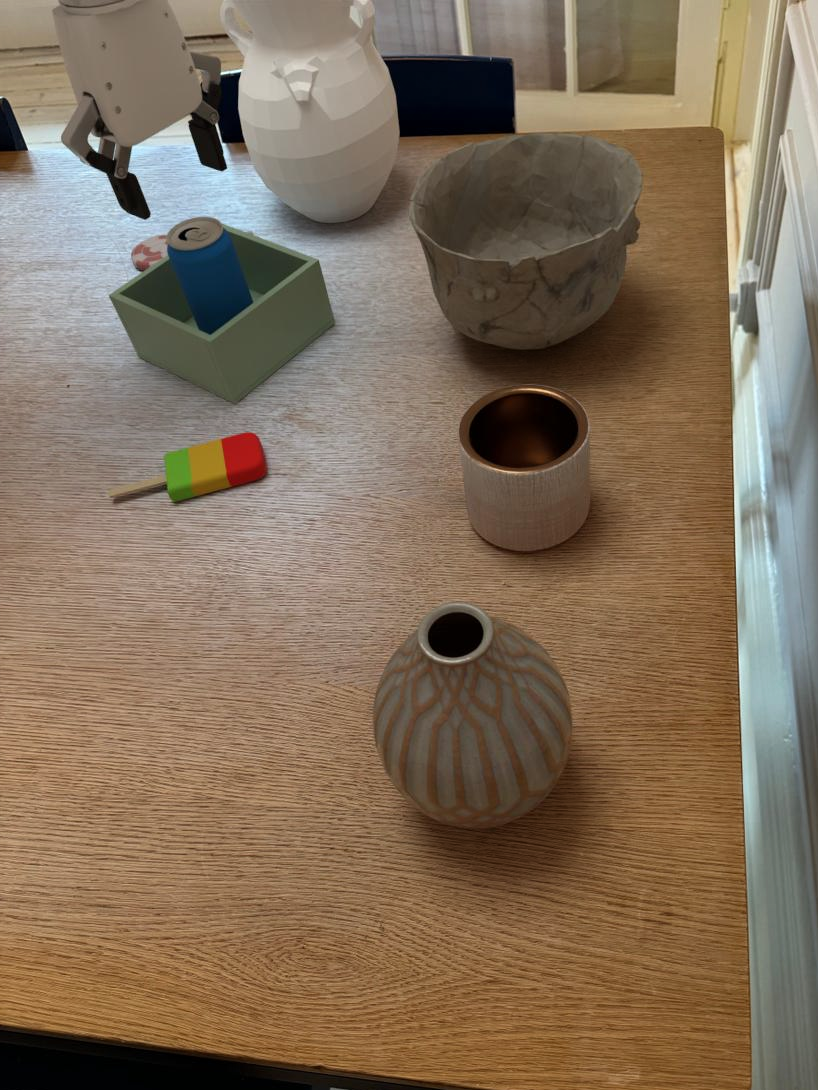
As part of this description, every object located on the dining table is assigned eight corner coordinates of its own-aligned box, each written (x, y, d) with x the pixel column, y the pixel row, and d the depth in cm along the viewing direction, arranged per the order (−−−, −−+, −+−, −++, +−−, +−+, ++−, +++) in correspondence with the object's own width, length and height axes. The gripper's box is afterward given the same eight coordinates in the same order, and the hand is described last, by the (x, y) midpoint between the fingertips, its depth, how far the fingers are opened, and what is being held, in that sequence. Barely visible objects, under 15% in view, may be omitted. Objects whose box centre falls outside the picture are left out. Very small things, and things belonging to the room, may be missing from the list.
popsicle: (270, 478, 84) (264, 463, 82) (113, 521, 83) (104, 507, 81) (262, 441, 87) (256, 426, 86) (111, 482, 86) (103, 467, 84)
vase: (380, 717, 68) (327, 572, 53) (545, 676, 68) (536, 522, 54) (411, 878, 60) (358, 759, 46) (596, 830, 61) (601, 698, 46)
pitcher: (427, 166, 115) (395, -69, 95) (388, 246, 105) (341, 2, 85) (295, 163, 119) (236, -64, 99) (245, 239, 109) (167, 5, 89)
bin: (138, 356, 97) (108, 295, 91) (238, 283, 104) (216, 221, 97) (235, 404, 91) (210, 341, 85) (335, 323, 97) (319, 259, 91)
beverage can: (226, 313, 99) (188, 210, 89) (274, 324, 97) (239, 219, 87) (192, 347, 96) (148, 244, 86) (240, 360, 94) (201, 255, 84)
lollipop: (253, 243, 106) (129, 269, 105) (255, 251, 107) (133, 277, 106) (249, 215, 110) (130, 240, 109) (252, 223, 111) (133, 248, 110)
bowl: (449, 413, 87) (428, 274, 75) (413, 289, 100) (390, 153, 87) (664, 367, 88) (678, 223, 76) (602, 250, 101) (605, 110, 88)
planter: (570, 455, 82) (570, 370, 74) (605, 540, 76) (608, 457, 68) (457, 480, 81) (444, 398, 74) (482, 568, 75) (471, 488, 67)
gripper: (151, -68, 75) (216, 141, 89) (-19, 8, 67) (81, 224, 81) (211, -56, 72) (269, 159, 86) (39, 25, 64) (133, 246, 78)
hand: (177, 190), depth 83 cm, fingers open, 9 cm apart
